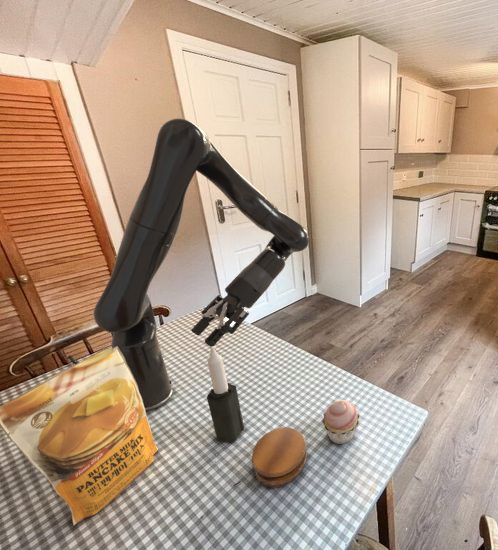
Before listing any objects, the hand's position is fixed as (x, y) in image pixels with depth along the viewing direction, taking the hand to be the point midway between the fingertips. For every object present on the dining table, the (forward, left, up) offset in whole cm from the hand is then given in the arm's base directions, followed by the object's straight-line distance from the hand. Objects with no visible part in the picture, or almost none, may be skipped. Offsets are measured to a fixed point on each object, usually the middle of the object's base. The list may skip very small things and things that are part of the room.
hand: (200, 338), depth 69 cm
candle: (+5, -4, -24) cm, 25 cm away
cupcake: (+32, -1, -24) cm, 40 cm away
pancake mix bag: (-12, -18, -24) cm, 32 cm away
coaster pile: (+20, -10, -24) cm, 33 cm away
